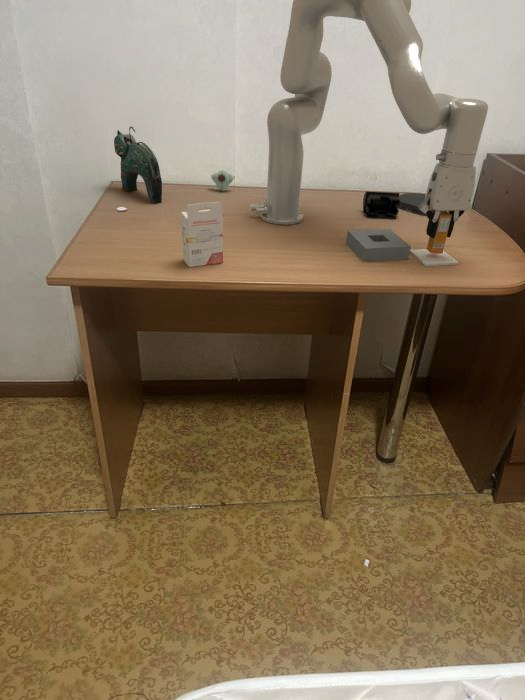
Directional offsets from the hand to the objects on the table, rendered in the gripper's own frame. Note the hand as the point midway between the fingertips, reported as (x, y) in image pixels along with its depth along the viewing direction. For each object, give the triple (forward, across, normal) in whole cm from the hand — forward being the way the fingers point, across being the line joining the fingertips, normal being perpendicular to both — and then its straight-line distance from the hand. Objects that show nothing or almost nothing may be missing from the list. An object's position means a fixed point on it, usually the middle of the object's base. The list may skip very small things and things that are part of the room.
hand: (438, 235), depth 128 cm
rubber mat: (+6, 0, 0) cm, 6 cm away
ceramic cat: (+6, -70, +57) cm, 91 cm away
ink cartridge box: (+6, -58, +5) cm, 58 cm away
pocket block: (+6, -13, +6) cm, 15 cm away
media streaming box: (+7, +17, +39) cm, 43 cm away
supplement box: (+5, 0, 0) cm, 5 cm away
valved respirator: (+6, -44, +60) cm, 75 cm away
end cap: (+6, 0, +33) cm, 34 cm away
